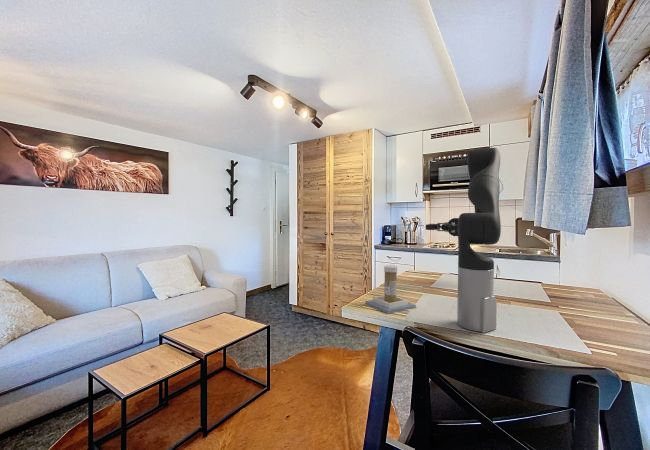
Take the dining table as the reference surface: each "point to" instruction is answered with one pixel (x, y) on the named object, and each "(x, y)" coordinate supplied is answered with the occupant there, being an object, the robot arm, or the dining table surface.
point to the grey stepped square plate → (390, 304)
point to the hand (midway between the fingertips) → (435, 227)
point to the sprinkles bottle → (390, 283)
